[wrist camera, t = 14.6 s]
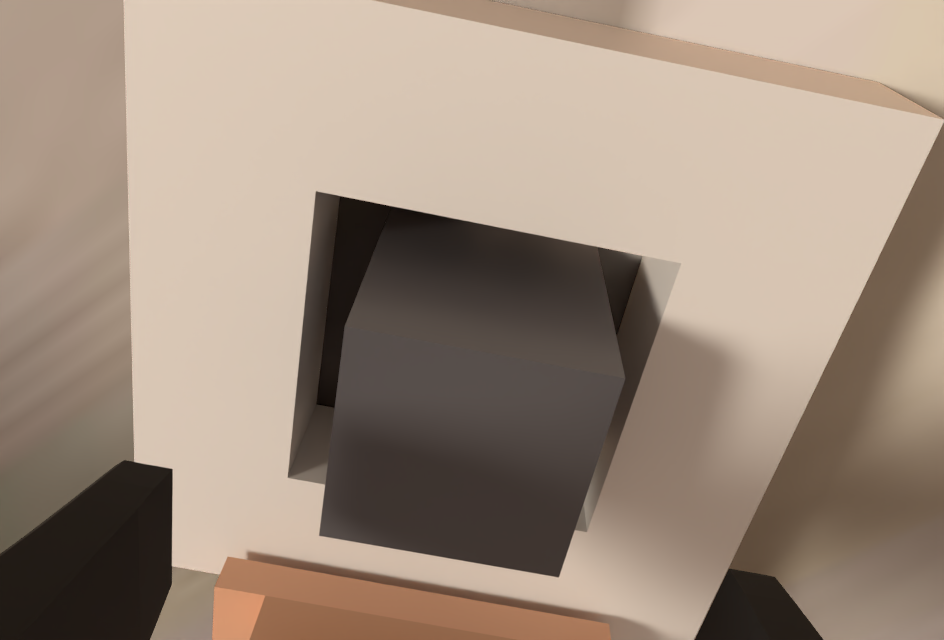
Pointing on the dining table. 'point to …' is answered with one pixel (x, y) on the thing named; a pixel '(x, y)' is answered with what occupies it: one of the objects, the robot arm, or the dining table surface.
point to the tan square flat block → (368, 611)
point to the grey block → (471, 394)
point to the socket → (506, 206)
